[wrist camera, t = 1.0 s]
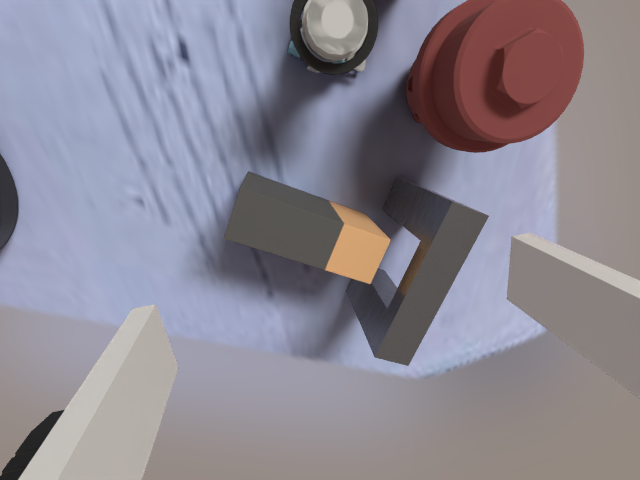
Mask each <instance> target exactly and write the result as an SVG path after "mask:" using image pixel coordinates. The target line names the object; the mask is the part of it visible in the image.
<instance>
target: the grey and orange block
mask: <svg viewBox="0 0 640 480" xmlns="http://www.w3.org/2000/svg"><path fill="white" fill-rule="evenodd" d="M224 239H227V240H230V241H233V242H236V243H240V244H243V245H246V246H249V247H253V248H256V249H259V250H262V251H265V252H269V253H272V254H275V255H278V256H281V257H285V258H288V259H291V260H294V261H298V262H301V263H304V264H307V265H310V266H314V267H317V268H320V269H323V270H326V271H330V272H333V273H336V274H339V275H343V276H346V277H349V278H352V279H355V280H359V281H362V282H365V283H368V284H371V282H372V279H373V277H374V275H375V273H376V271H377V269H378V267H379V264H380V262H381V260H382V258H383V256H384V254H385V252H386V249H387V247H388V245H389V243H390V241H391V240H390V239H389V238H388V237H387V235H386V234H385V233H384V232H383V231H382V230H381V229H380V228H379V227H378V226H377V225H376V224H375V223H374V222H373V221H372V220H371V219H370V218H369V217H368V216H367V215H366V214H364V213H361V212H359V211H356V210H353V209H350V208H348V207H345V206H342V205H339V204H337V203H334V202H331V201H328V200H326V199H323V198H320V197H317V196H315V195H312V194H309V193H306V192H304V191H301V190H298V189H295V188H293V187H290V186H287V185H284V184H282V183H279V182H276V181H273V180H271V179H268V178H265V177H262V176H260V175H257V174H254V173H251V172H249V171H248V173H247V175H246V177H245V179H244V181H243V183H242V185H241V187H240V190H239V193H238V196H237V200H236V203H235V206H234V209H233V212H232V215H231V218H230V221H229V224H228V227H227V231H226V234H225V237H224Z"/></svg>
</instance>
